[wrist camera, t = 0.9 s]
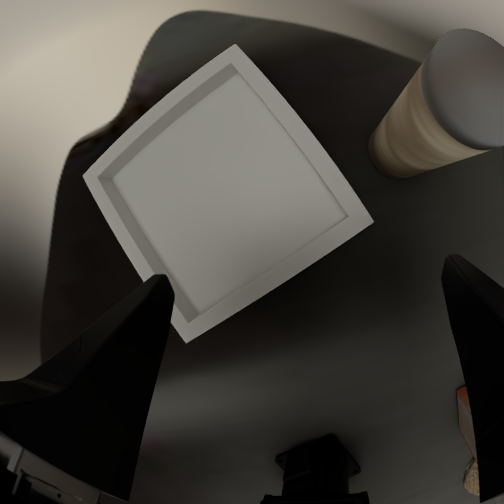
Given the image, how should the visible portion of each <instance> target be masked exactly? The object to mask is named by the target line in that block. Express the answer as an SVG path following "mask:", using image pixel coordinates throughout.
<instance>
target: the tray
mask: <svg viewBox="0 0 504 504" xmlns="http://www.w3.org/2000/svg"><path fill="white" fill-rule="evenodd" d="M83 178H84V180H85V182H86V183H87V185H88V187H89V189H90V191H91V193H92V195H93V197H94V199H95V200H96V202H97V204H98V206H99V208H100V209H101V211H102V213H103V215H104V217H105V218H106V220H107V222H108V224H109V225H110V227H111V229H112V231H113V232H114V234H115V236H116V237H117V239H118V241H119V243H120V244H121V246H122V248H123V249H124V251H125V252H126V254H127V256H128V257H129V259H130V261H131V262H132V264H133V265H134V267H135V269H136V270H137V272H138V273H139V275H140V277H141V278H142V280H143V281H144V282H145V281H146V280H147V279H149V278H150V277H151V276H152V275H154V274H166V275H167V276H168V279H169V281H170V283H171V285H172V288H173V290H174V293H175V301H174V306H173V312H172V318H171V323H172V324H173V326H174V327H175V329H176V330H177V332H178V333H179V334H180V336H181V337H182V339H183V340H184V341H185V343H187V342H189V341H191V340H192V339H194V338H196V337H197V336H199V335H201V334H202V333H204V332H206V331H207V330H209V329H210V328H212V327H214V326H215V325H217V324H219V323H220V322H222V321H224V320H225V319H227V318H228V317H230V316H232V315H233V314H235V313H236V312H238V311H240V310H241V309H243V308H245V307H246V306H248V305H249V304H251V303H252V302H254V301H256V300H257V299H259V298H260V297H262V296H264V295H265V294H267V293H268V292H270V291H271V290H273V289H274V288H276V287H278V286H279V285H281V284H282V283H284V282H285V281H287V280H288V279H290V278H292V277H293V276H295V275H296V274H298V273H299V272H301V271H302V270H304V269H305V268H307V267H308V266H310V265H311V264H313V263H314V262H316V261H317V260H319V259H320V258H322V257H323V256H325V255H326V254H328V253H329V252H331V251H332V250H334V249H335V248H337V247H338V246H340V245H341V244H343V243H344V242H346V241H347V240H349V239H350V238H352V237H353V236H354V235H356V234H357V233H359V232H360V231H362V230H363V229H365V228H366V227H368V226H369V225H370V224H372V223H373V222H374V221H373V219H372V218H371V216H370V215H369V213H368V212H367V210H366V208H365V207H364V205H363V204H362V202H361V201H360V199H359V198H358V196H357V195H356V193H355V192H354V191H353V189H352V188H351V186H350V185H349V183H348V182H347V180H346V179H345V177H344V176H343V175H342V173H341V172H340V170H339V169H338V168H337V166H336V165H335V163H334V162H333V161H332V159H331V158H330V157H329V155H328V154H327V152H326V151H325V150H324V148H323V147H322V146H321V144H320V143H319V142H318V140H317V139H316V138H315V136H314V135H313V134H312V133H311V131H310V130H309V129H308V127H307V126H306V125H305V124H304V122H303V121H302V120H301V119H300V117H299V116H298V115H297V114H296V112H295V111H294V110H293V109H292V107H291V106H290V105H289V104H288V103H287V101H286V100H285V99H284V98H283V97H282V95H281V94H280V93H279V92H278V91H277V89H276V88H275V87H274V86H273V85H272V84H271V82H270V81H269V80H268V79H267V78H266V77H265V76H264V74H263V73H262V72H261V71H260V70H259V69H258V68H257V67H256V66H255V64H254V63H253V62H252V61H251V60H250V59H249V58H248V57H247V56H246V55H245V54H244V52H243V51H242V50H241V49H240V48H239V47H238V46H237V45H236V44H234V45H233V46H231V47H230V48H228V49H227V50H225V51H224V52H222V53H221V54H220V55H218V56H217V57H215V58H214V59H213V60H211V61H210V62H208V63H207V64H206V65H204V66H203V67H202V68H200V69H199V70H198V71H196V72H195V73H194V74H192V75H191V76H190V77H189V78H187V79H186V80H185V81H183V82H182V83H181V84H180V85H178V86H177V87H176V88H175V89H174V90H172V91H171V92H170V93H169V94H167V95H166V96H165V97H164V98H163V99H162V100H160V101H159V102H158V103H157V104H156V105H155V106H153V107H152V108H151V109H150V110H149V111H148V112H147V113H145V114H144V115H143V116H142V117H141V118H140V119H139V120H138V121H137V122H136V123H134V124H133V125H132V126H131V127H130V128H129V129H128V130H127V131H126V132H125V133H124V134H123V135H122V136H121V137H120V138H119V139H118V140H117V141H116V142H115V143H114V144H113V145H112V146H111V147H110V148H109V149H108V150H107V151H106V152H105V153H104V154H103V155H102V156H101V157H100V158H99V159H98V160H97V161H96V162H95V163H94V164H93V165H92V166H91V167H90V168H89V169H88V171H87V172H86V173H85V174H84V175H83Z"/></svg>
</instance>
